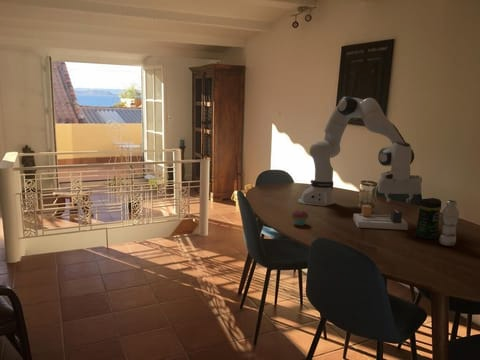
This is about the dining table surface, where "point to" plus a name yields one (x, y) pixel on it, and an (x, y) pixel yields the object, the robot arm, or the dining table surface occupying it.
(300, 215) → the cupcake
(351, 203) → the dining table surface
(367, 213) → the fader
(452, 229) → the plastic bottle
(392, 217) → the fader
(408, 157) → the robot arm
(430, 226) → the coffee jar
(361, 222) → the console
